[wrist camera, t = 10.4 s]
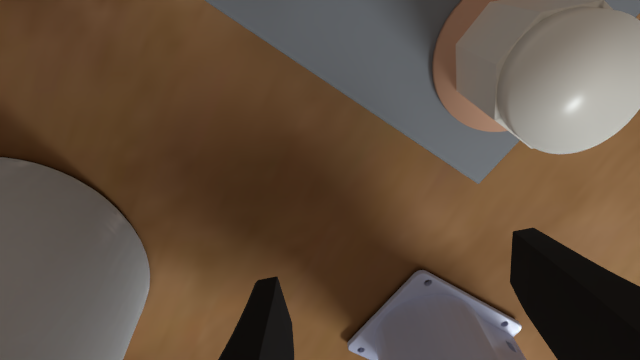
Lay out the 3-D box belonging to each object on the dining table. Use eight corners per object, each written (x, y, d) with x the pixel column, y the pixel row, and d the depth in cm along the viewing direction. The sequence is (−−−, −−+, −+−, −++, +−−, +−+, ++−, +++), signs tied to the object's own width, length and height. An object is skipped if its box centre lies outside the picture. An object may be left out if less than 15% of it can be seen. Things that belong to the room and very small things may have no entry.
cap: (574, -15, 17) (673, -7, 13) (562, 100, 19) (642, 141, 15) (454, 8, 17) (511, 24, 13) (456, 120, 20) (505, 166, 15)
